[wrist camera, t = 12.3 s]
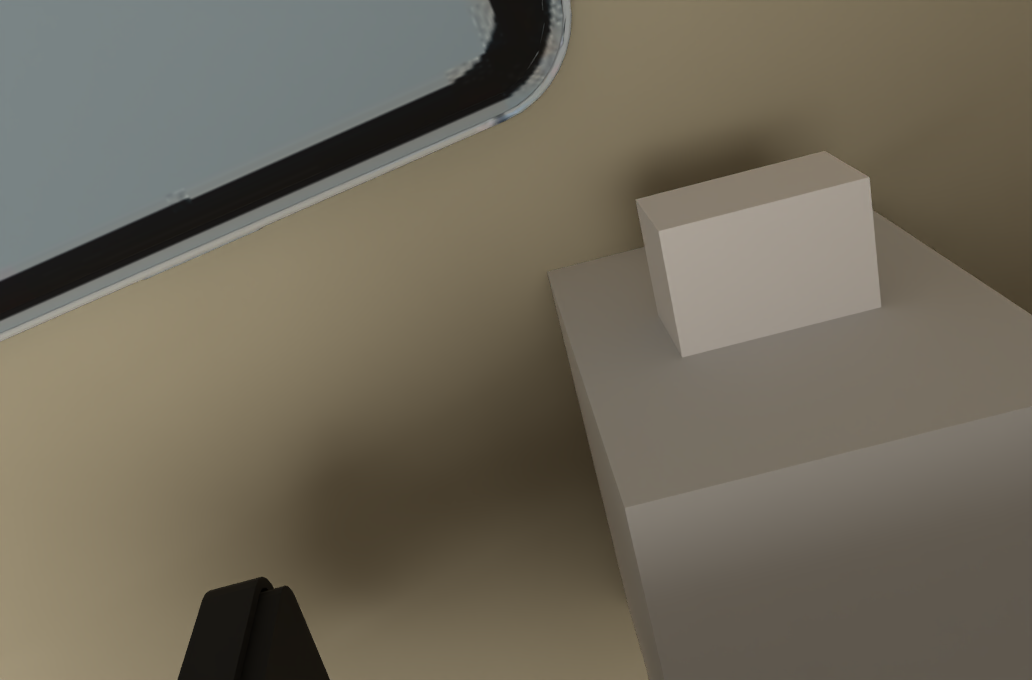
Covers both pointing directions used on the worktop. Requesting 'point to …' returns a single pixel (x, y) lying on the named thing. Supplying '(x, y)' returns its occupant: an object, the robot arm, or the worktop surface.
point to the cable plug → (806, 437)
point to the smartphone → (228, 120)
